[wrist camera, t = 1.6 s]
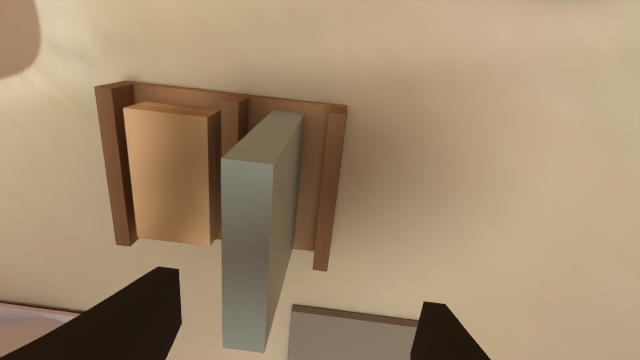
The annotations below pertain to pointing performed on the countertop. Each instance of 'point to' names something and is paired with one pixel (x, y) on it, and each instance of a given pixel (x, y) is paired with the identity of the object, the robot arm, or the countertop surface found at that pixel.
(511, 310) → the countertop surface
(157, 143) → the upper offcut
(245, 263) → the grey square slab
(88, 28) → the countertop surface
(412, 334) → the rubber mat
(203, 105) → the walnut rack
